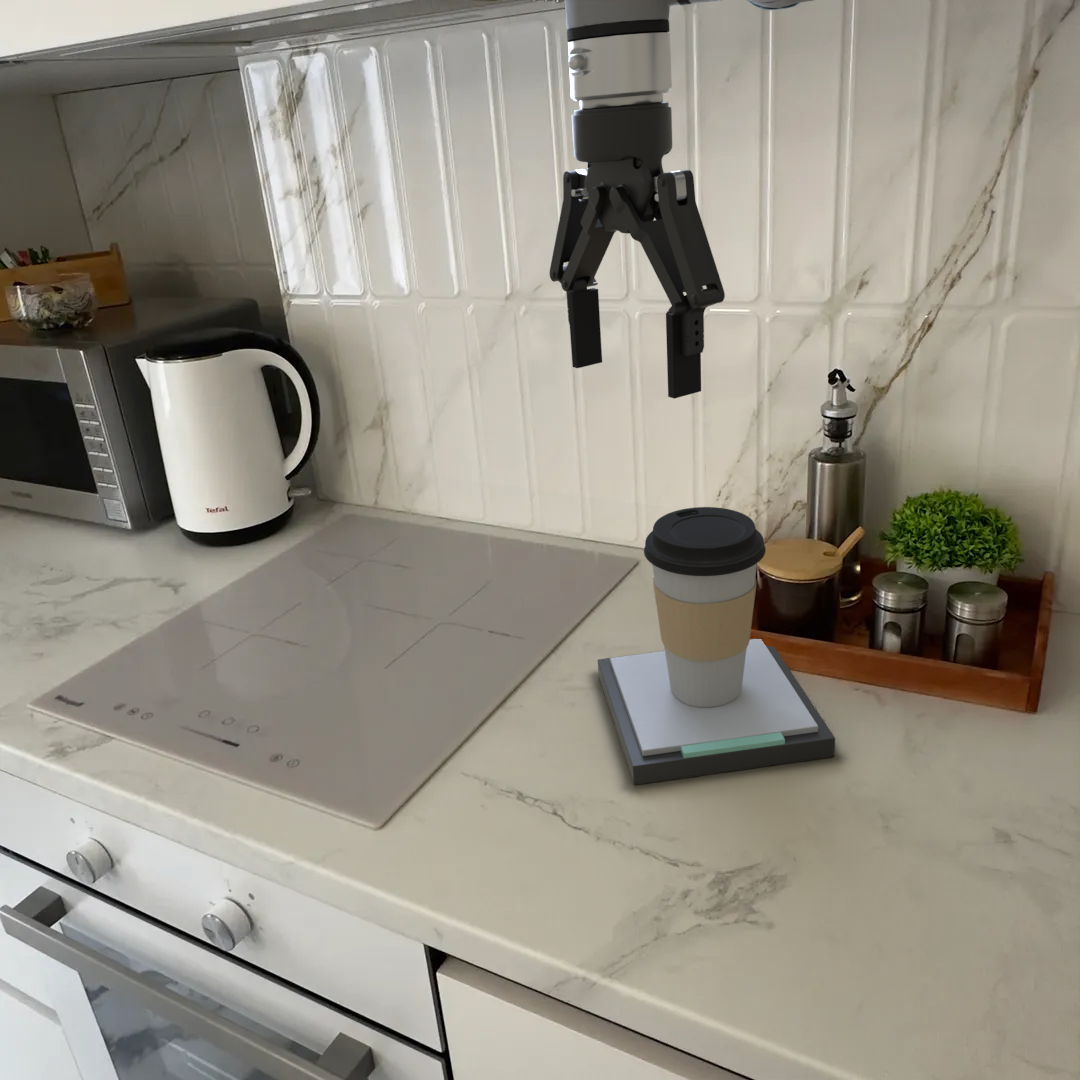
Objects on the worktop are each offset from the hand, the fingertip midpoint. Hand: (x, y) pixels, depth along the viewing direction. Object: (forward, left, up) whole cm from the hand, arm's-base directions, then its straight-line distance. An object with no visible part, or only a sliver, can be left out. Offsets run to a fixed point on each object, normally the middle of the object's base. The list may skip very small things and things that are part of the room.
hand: (632, 378), depth 82 cm
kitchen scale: (-3, +11, -27) cm, 29 cm away
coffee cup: (-3, +11, -24) cm, 27 cm away
